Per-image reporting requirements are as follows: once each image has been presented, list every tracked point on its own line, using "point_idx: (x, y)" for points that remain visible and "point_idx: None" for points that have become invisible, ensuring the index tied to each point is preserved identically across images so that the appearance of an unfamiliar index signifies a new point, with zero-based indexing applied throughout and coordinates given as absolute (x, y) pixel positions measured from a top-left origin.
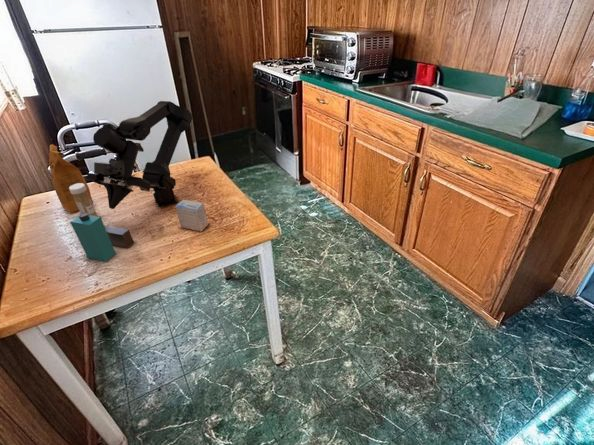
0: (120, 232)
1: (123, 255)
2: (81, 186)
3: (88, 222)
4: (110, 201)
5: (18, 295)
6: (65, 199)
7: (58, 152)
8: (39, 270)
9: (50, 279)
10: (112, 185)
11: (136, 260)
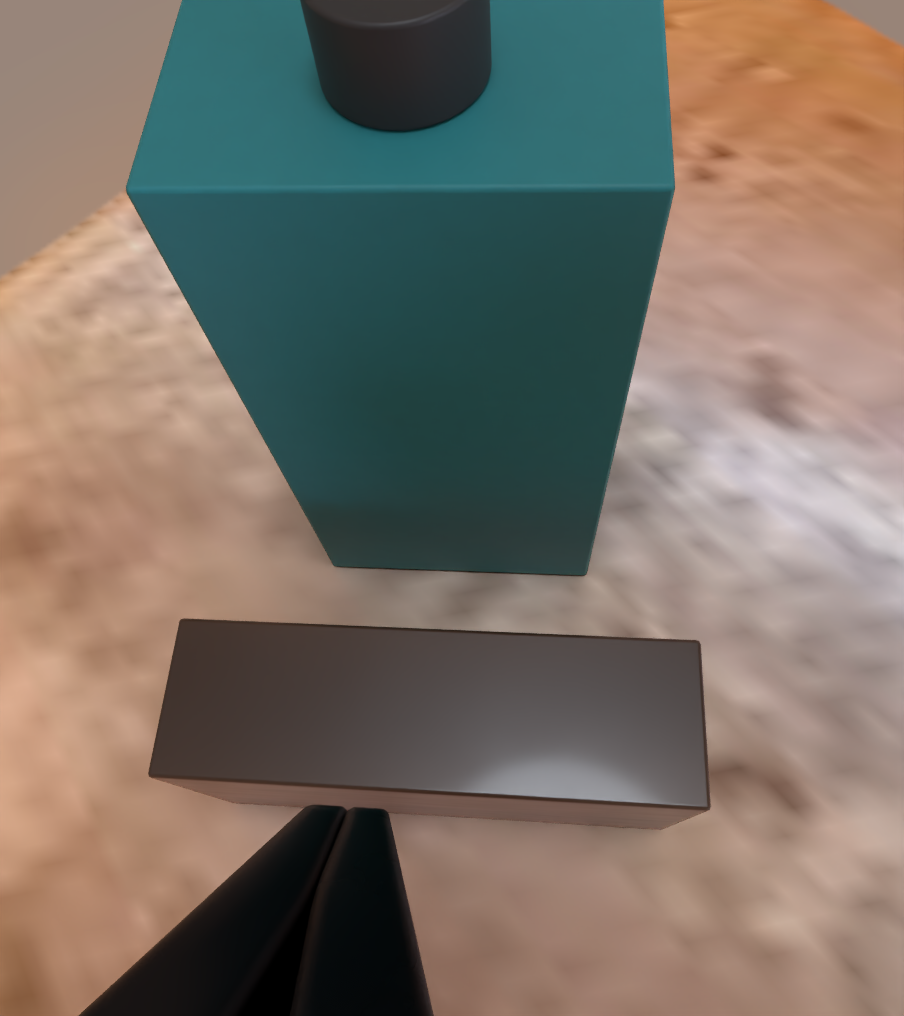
0: (243, 669)
1: (229, 555)
2: None
3: (257, 20)
4: (318, 929)
5: (755, 28)
6: None
7: None
8: (890, 221)
9: (678, 172)
10: None
11: (49, 517)
